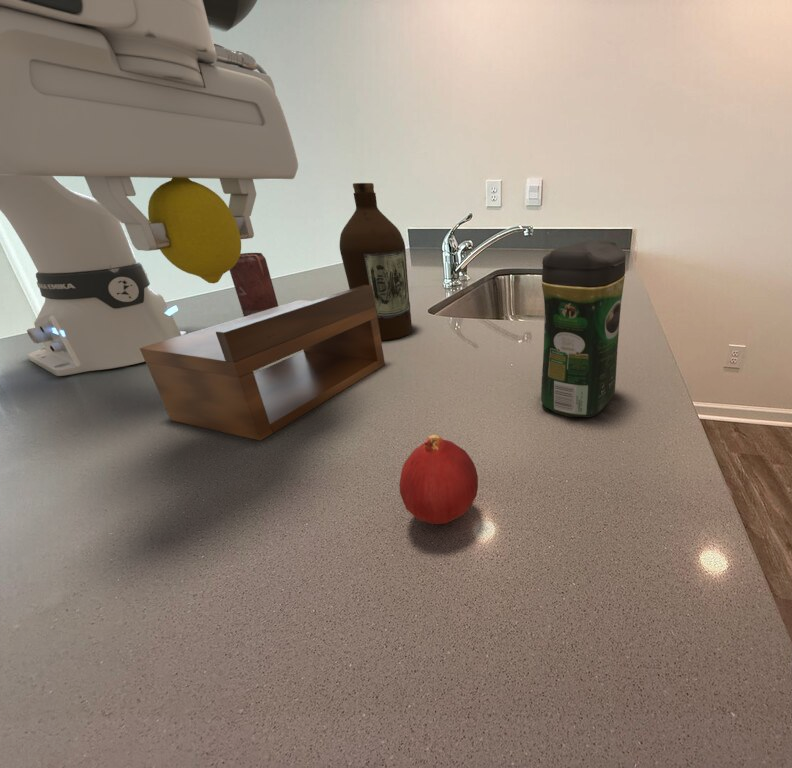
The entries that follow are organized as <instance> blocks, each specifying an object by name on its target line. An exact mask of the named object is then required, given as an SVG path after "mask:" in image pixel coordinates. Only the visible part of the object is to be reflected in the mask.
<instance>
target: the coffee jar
mask: <svg viewBox="0 0 792 768" xmlns="http://www.w3.org/2000/svg"><path fill="white" fill-rule="evenodd" d="M626 259H627V258H626V252H624V250H623V249H622V248H621V247H619V246H618V245H617V244H616V242H614V241H609V240H608V241H607V240H589V239H588V240H586V239H585V240H581V241H579V242H578V241H577V242H575V243H572V244H569V245H566V246H563V247H558V248H555V249H552V250H551V251H550V252H549V253H548V254H546V255H544V256H543V257H542V261H541V265H542V271H541V289H542V294H543V304H544V324H543V325H544V327H543V353H542V367H541V368H542V369H541V385H540V386H541V388H540V389H541V390H540V391H541V392H540V397H541V398H540V400H541V403H542V404H543V407H545V408H547V409H548V410H551V411H552V412H553V413H555V414H558V415H561V416H565V417H569V418H578V417H579V418H580V417H582V418H591V417H594V416H596V415H598V414H599V413H600V412H601V411H603V410H604V409H605V408H606V406H608V404H609V403H610V402H611V401H612V399H613V397H614V395H615V392H616V380H617V363H618V348H619V335H620V334H619V333H620V321H621V310H622V301H623V300H622V299H623V292H624V285H625V278H626V276H625V275H626Z"/></svg>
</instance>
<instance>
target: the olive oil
mask: <svg viewBox="0 0 792 768" xmlns="http://www.w3.org/2000/svg"><path fill="white" fill-rule="evenodd" d="M352 188H353V191H354V192H353V198H354V204H355V210H354V212H353V214H352V215H351V217H350V218H349V220H348V221H347V222H346V223H345V225H344V227H343V228H342V230H341V232H340V236H339V252H340V257H341V261H342V265H343V269H344V272H345V277H346V281H347V285H348V290H350V289H353V288H356V287H359V286H362V285H372V289H373V295H374V301H375V306H376V312H377V319H378V325H379V331H380V337H381V342H382V341H392V340H397V339H400V338H403V337H405V336H408V335H409V334H411V333H412V331H413V325H412V324H413V322H412V314H411V302H410V291H409V280H408V267H407V266H408V265H407V252H406V244H405V240H404V238H403V235H402V233H401V231H400V229H398V226H396V225H395V224H394V223H393V222H392V221H391V220H390V219H389V218H388V217H387V216H386V215H384V213H383V212H382V211H380V209H379V207H378V203H377V202H378V201H377V195H376V192H375V190H374V189H375V185H374V183H373V182H353V183H352Z"/></svg>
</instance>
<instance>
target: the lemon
mask: <svg viewBox="0 0 792 768" xmlns="http://www.w3.org/2000/svg"><path fill="white" fill-rule="evenodd" d="M170 179H171V180H168V181H165V182H164V183H162V184H160V185H159V186H158V187H157V188H155V190H154V191H153V192H152V193H151V195H150V197H149V200H148V206H147V215H148V216H147V217H148V220H149V221H150V222H161V223H164V225H165V228H166V231H167V234H166V236H167V237H168V238H169V240H170V243H171V247H170V248H166V249H159V250H160V253H162V255H163V256H164V257H165V259H167V261H168V262H170V264H171V265H173V266H174V267H176V268H177V269H179V270H180V271H182V272H184V273H187V274H189V275H193V276H196V277H199V278H201V279H202V280H204V281H205V282H206V283H208V284H217V283H219V282H220V280H221V279H222V277H223V275H224V274H226V273H227V272H230V269H232V268H233V267H234V266H235V264H236V263H237V261H238V259H239V257H240V254H242V253H241V252H242V239H241V238H240V233H239V229H238V226H237V224H236V221H235V219H234V217H233V215H232V213H231V211H230V209H229V205H228V204H227V203H226V202H225V200H224V199H223V198H222V197H221V196H220V195H219V194H217V193H216V191H214V190H212V189H211V188H209V187H208V186H206V185H204V184H201V183H199V182H197V181H195V180H194V181H193V180H191V178H181V177H173V178H170Z"/></svg>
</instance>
